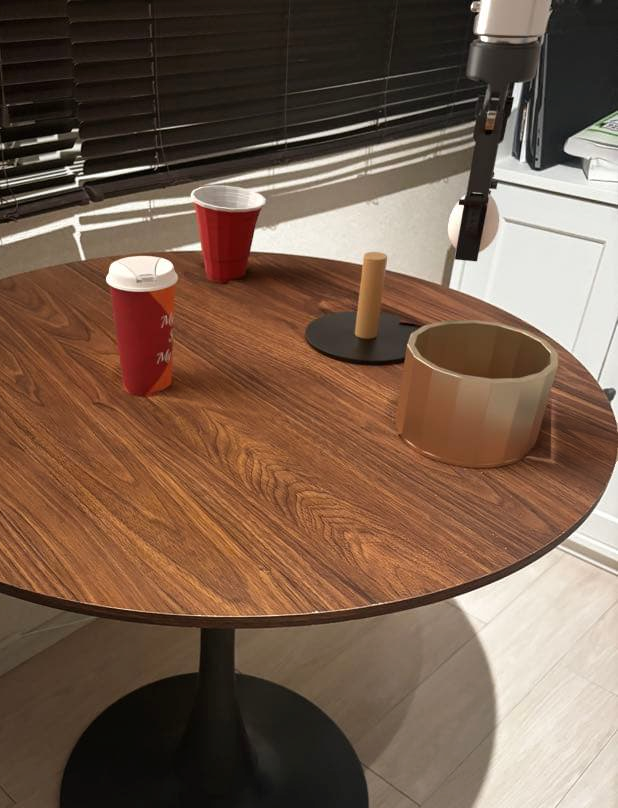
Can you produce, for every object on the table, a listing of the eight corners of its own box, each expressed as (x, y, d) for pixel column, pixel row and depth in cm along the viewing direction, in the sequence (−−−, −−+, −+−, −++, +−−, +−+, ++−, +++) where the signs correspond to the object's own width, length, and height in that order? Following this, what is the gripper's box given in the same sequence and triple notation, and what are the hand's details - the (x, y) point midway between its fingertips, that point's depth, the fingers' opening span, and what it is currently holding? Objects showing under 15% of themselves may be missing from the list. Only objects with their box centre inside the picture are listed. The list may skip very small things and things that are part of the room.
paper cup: (186, 397, 92) (184, 275, 84) (119, 404, 91) (110, 281, 82) (173, 367, 98) (170, 251, 90) (110, 373, 97) (100, 256, 88)
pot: (535, 411, 90) (558, 330, 84) (532, 479, 79) (558, 391, 73) (405, 391, 94) (418, 312, 88) (385, 453, 83) (399, 368, 77)
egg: (463, 243, 106) (473, 181, 102) (502, 254, 103) (515, 191, 98) (433, 252, 103) (443, 189, 99) (473, 264, 100) (485, 199, 95)
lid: (432, 328, 108) (447, 242, 101) (417, 377, 96) (433, 285, 90) (319, 313, 112) (326, 230, 105) (291, 359, 100) (298, 269, 93)
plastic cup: (251, 293, 117) (254, 207, 110) (181, 284, 120) (179, 200, 113) (271, 269, 125) (275, 187, 118) (205, 261, 128) (205, 181, 121)
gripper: (477, 29, 97) (445, 227, 111) (464, 47, 83) (429, 272, 97) (543, 30, 95) (502, 232, 109) (541, 49, 81) (494, 279, 95)
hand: (468, 250), depth 103 cm, fingers closed on egg, 6 cm apart
